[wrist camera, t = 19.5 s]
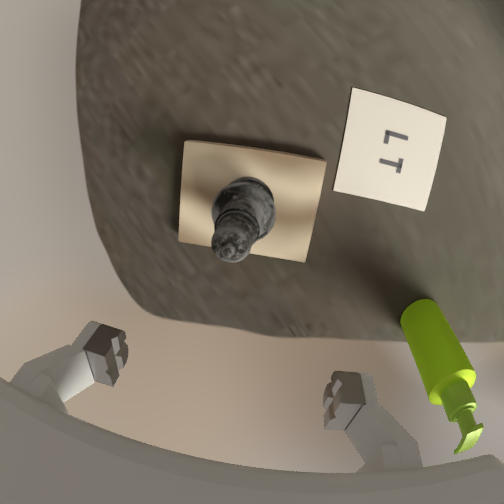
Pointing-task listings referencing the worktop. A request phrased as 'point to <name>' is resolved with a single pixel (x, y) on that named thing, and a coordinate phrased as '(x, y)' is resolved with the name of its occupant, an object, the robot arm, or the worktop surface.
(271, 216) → the dark grey turned piece
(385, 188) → the card
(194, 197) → the serving board
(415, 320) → the soap dispenser
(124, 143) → the worktop surface
